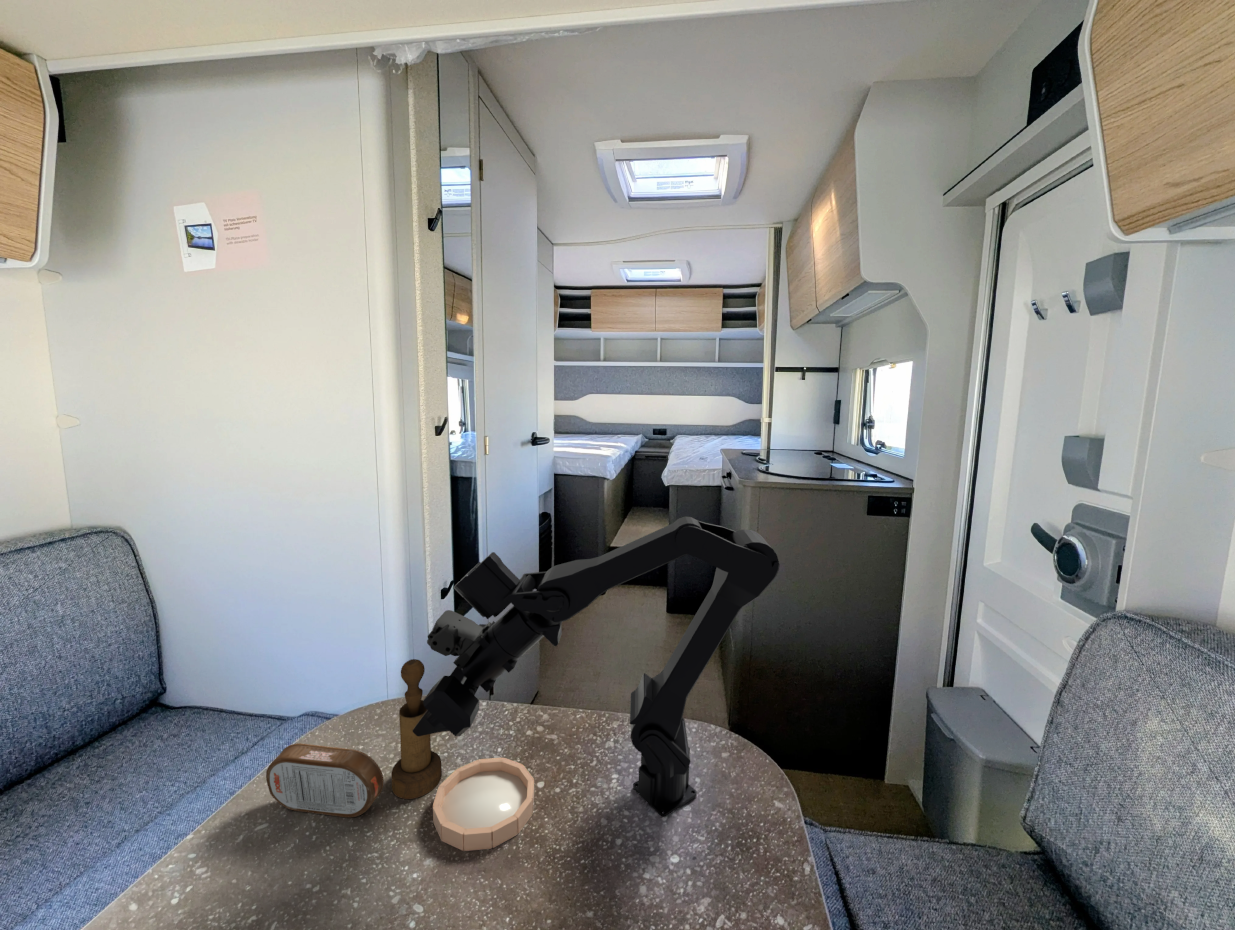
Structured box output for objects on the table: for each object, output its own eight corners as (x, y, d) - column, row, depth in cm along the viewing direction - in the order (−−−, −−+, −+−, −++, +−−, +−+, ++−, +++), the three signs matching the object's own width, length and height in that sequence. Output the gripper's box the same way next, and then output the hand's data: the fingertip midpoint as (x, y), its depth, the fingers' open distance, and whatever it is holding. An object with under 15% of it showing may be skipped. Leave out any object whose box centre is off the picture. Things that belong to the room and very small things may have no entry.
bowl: (509, 759, 75) (509, 746, 75) (550, 816, 65) (550, 801, 65) (422, 798, 68) (422, 784, 67) (454, 869, 58) (453, 852, 57)
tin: (386, 805, 66) (383, 748, 65) (372, 825, 63) (368, 765, 62) (282, 793, 68) (277, 737, 67) (264, 812, 65) (258, 753, 64)
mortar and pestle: (424, 803, 67) (419, 677, 64) (381, 795, 68) (374, 671, 66) (450, 767, 73) (446, 652, 71) (410, 760, 75) (405, 647, 72)
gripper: (486, 572, 76) (417, 638, 78) (438, 629, 57) (348, 713, 59) (538, 623, 77) (468, 687, 79) (506, 696, 58) (416, 777, 60)
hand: (429, 711), depth 69 cm, fingers open, 9 cm apart
